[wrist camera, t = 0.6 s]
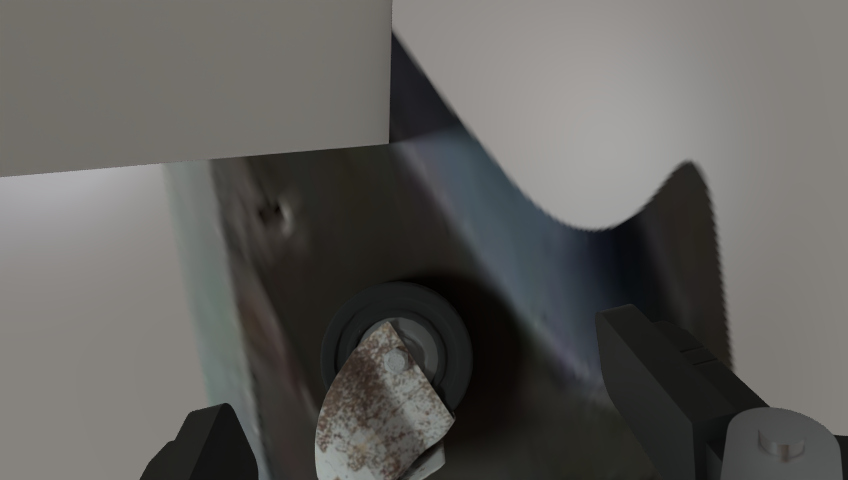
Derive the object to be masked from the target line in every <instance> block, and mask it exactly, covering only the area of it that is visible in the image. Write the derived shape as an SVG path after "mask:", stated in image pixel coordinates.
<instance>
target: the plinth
mask: <svg viewBox="0 0 848 480" xmlns="http://www.w3.org/2000/svg"><path fill="white" fill-rule="evenodd" d="M391 29H392V0H0V177H7V176H19V175H31V174H42V173H53V172H66V171H77V170H88V169H100V168H111V167H123V166H135V165H147V164H159V163H170V162H182V161H193V160H205V159H217V158H228V157H240V156H252V155H263V154H275V153H286V152H298V151H310V150H321V149H333V148H345V147H356V146H368V145H380V144H389V115H390V72H391Z"/></svg>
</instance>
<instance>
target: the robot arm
mask: <svg viewBox="0 0 848 480" xmlns="http://www.w3.org/2000/svg"><path fill="white" fill-rule="evenodd" d="M595 324H596V332H597V339H598V347H599V355H600V362H601V370H602V376H603V380H604V383H605V386H606V389H607V392H608V394H609V396H610V398H611V400H612V402H613V404H614V405H615V407H616V408H617V410H618V411H619V413H620V414H621V416H622V417H623V419H624V420H625V422H626V423H627V425H628V426H629V428H630V430H631V431H632V433H633V434H634V436H635V437H636V439H637V440H638V442H639V443H640V445H641V446H642V448H643V449H644V451H645V452H646V454H647V455H648V457H649V459H650V460H651V462H652V463H653V465H654V466H655V468H656V469H657V471H658V472H659V474H660V475H661V477H662V478H663V480H848V436H839V435H833V434H832V433H831V432H830V431H829V430H828V429H827V428H826V427H825V426H823V425H821V424H820V423H819V422H817V421H815V420H814V419H812V418H810V417H808V416H805V415H803V414H801V413H797V412H794V411H791V410H786V409H782V408H772V407H769V406H768V405H767V404H766V403H765V402H764V401H763V400H762V399H761V398H760V397H759V396H758V395H757V394H755V393H754V392H753V391H752V390H751V389H750V388H749V387H748V386H747V385H746V384H745V383H743V382H742V381H741V380H740V379H739V378H738V377H737V376H736V375H735V374H734V373H733V372H732V371H731V370H729V369H728V368H727V367H726V366H725V365H724V364H723V363H722V362H721V361H720V362H718V359H717V357H715V356H714V355H713V354H712V353H711V352H710V351H709V350H708V349H705V348H704V345H702V344H701V343H700V342H699V341H698V340H697V339H696V338H695V337H694V336H693V335H692V334H691V333H689V332H688V331H687V330H685V329H682V328H680V327H678V326H676V325H673V324H671V323H669V322H666V321H660V322H656V323H651V322H650V321H649V320H648V319H647V318H646V317H645V316H644V315H643V314H642V313H641V312H640V311H639V310H638V309H637V308H636V307H635V306H634V305H632V304H628V305H624V306H620V307H616V308H612V309H608V310H604V311H600V312H597V313H596V315H595ZM140 480H258V467H257V462H256V459H255V456H254V454H253V451H252V449H251V447H250V445H249V442H248V440H247V438H246V436H245V434H244V431H243V429H242V427H241V425H240V422H239V420H238V418H237V416H236V413H235V411H234V409H233V408H232V406H231V405H229V404H228V403H224V404H220V405H216V406H212V407H208V408H204V409H200V410H195V411H192V412H190V413H189V414H188V416H187V417H186V419H185V421H184V423H183V425H182V427H181V429H180V431H179V433H178V435H177V437H176V439H175V440H174V441H170V442H168V443H167V444H166V445H165V446H164V447H163V448H162V449H161V450H160V451H159V452H158V454H157V455H156V456H155V457H154V458H153V459H152V460H151V461H150V462H149V463H148V465H147V467H146V469H145V471H144V472H143V474H142V476H141V478H140Z"/></svg>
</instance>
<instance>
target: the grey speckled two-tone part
mask: <svg viewBox="0 0 848 480" xmlns="http://www.w3.org/2000/svg"><path fill="white" fill-rule="evenodd" d="M320 361H321V374H322V378H323V381H324V384H325V388H326V390H327V392H328V393H327V395H326V398H325V400H324V403H323V406H322V409H321V412H320V416H319V419H318V425H317V430H316V439H315V461H316V470H317V476H318V478H319V480H423V479H425V478H426V477H428V476H429V475H431V474H432V473H434V472H435V471H436V470H438V469H439V468H441V467H442V466H443V465H444V464H445V454H444V444H443V436H444V435H445V434H446V433H447V431H448V430H449V429H450V427H451V426H452V424H453V423H454V422H455V420H456V417H455V414H454V410H455V409H456V408H457V406H458V405H459V403H460V402H461V401H462V399H463V398H464V396H465V393H466V391H467V388H468V386H469V383H470V380H471V375H472V371H473V350H472V343H471V339H470V336H469V333H468V330H467V328H466V326H465V324H464V322H463V320H462V318H461V316H460V315H459V314H458V312H457V311H456V309H455V308H454V307H453V306H452V305H451V304H450V303H449V302H448V301H447V300H446V299H445V298H444V297H442V296H441V295H440V294H438V293H437V292H435V291H434V290H432V289H430V288H428V287H426V286H423V285H419V284H416V283H412V282H402V281H394V282H386V283H382V284H378V285H375V286H372V287H369V288H367V289H365V290H363V291H361V292H359V293H357V294H356V295H354V296H353V297H352V298H351V299H349V300H348V301H347V302H345V303H344V304H343V306H342V307H341V308H340V309H339V310H338V311H337V312H336V314H335V315H334V317H333V318H332V320H331V321H330V323H329V325H328V327H327V330H326V332H325V335H324V338H323V341H322V346H321V357H320Z"/></svg>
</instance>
